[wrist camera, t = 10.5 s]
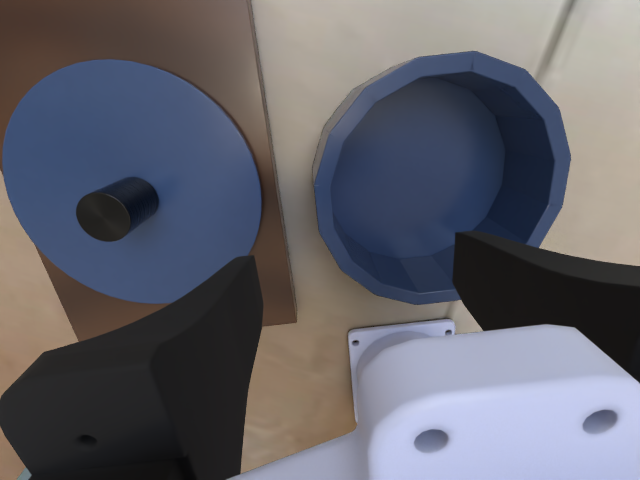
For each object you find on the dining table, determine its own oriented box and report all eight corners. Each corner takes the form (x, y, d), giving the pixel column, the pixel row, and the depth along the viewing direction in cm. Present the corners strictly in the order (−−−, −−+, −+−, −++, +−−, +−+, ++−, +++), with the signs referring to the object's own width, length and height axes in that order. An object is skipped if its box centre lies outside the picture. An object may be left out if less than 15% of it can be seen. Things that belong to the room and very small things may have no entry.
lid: (279, 282, 22) (273, 324, 18) (72, 305, 22) (19, 352, 18) (239, 47, 17) (219, 30, 13) (-29, 76, 17) (-135, 69, 13)
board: (297, 310, 25) (296, 322, 24) (93, 332, 25) (80, 346, 24) (247, -21, 17) (242, -31, 16) (-46, 12, 17) (-76, 4, 16)
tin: (502, 254, 24) (548, 291, 20) (323, 274, 24) (328, 315, 20) (525, 52, 19) (592, 37, 15) (301, 76, 19) (300, 69, 15)
